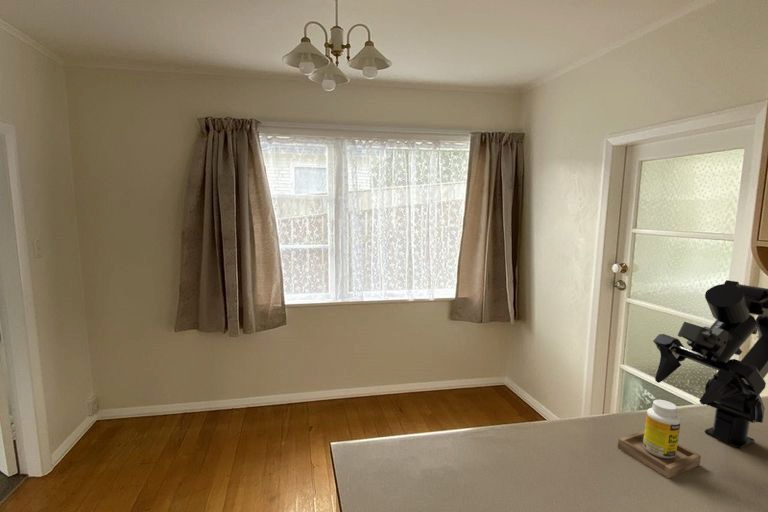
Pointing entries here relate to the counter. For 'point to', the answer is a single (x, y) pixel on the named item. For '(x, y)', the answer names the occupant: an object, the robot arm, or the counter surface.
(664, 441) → the supplement bottle
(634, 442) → the walnut tray
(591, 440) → the counter surface
